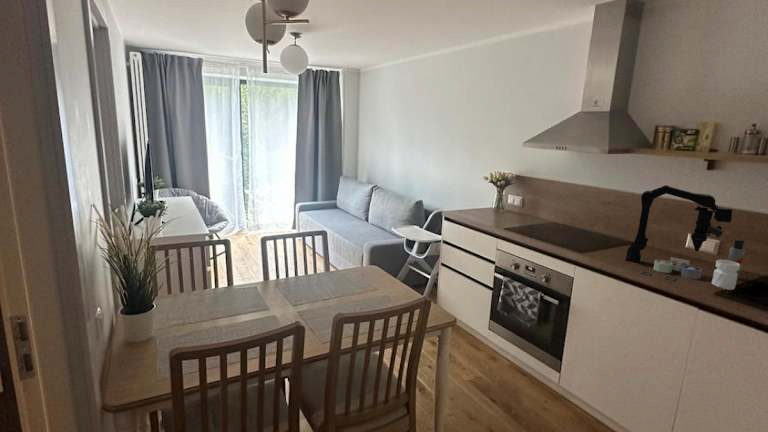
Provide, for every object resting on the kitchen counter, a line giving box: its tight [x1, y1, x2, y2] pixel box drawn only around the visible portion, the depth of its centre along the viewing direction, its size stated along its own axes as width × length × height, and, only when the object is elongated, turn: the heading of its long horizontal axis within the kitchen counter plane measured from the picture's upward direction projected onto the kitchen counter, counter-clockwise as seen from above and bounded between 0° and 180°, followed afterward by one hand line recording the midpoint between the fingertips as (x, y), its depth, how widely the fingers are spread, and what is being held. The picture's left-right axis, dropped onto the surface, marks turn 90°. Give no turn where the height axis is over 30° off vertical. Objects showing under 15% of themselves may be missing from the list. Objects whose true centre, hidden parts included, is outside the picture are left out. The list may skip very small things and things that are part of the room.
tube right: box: [680, 264, 703, 280], centre depth 205 cm, size 8×8×5 cm
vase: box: [711, 259, 740, 291], centre depth 194 cm, size 9×9×12 cm
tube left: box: [653, 259, 673, 274], centre depth 213 cm, size 8×8×5 cm
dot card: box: [669, 256, 690, 273], centre depth 212 cm, size 8×1×7 cm, turn 47°
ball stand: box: [640, 270, 676, 282], centre depth 205 cm, size 16×6×1 cm, turn 47°
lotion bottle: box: [727, 238, 746, 280], centre depth 204 cm, size 6×6×20 cm
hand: (697, 249), depth 210 cm, fingers open, 9 cm apart
